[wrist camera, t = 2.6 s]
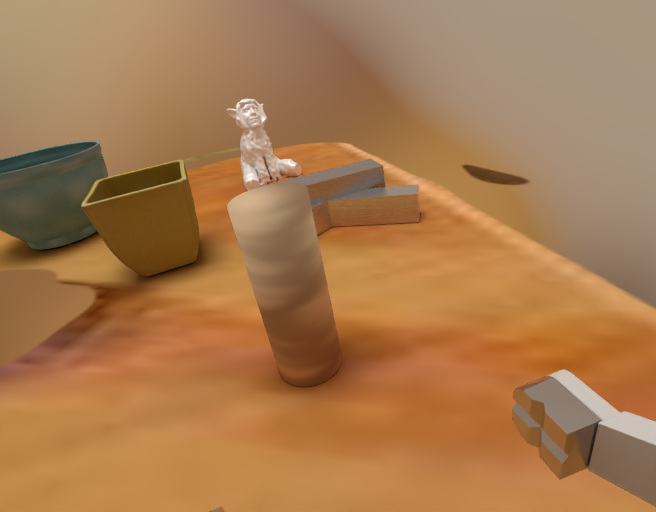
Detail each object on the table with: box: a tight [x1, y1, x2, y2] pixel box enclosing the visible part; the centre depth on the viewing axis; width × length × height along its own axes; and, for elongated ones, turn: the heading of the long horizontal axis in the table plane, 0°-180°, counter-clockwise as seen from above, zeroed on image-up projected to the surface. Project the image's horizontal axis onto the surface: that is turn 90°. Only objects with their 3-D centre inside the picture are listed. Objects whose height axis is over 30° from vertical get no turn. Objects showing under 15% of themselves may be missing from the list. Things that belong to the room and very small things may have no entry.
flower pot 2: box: [81, 160, 199, 276], centre depth 39 cm, size 9×9×9 cm
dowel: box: [227, 183, 342, 387], centre depth 22 cm, size 4×4×11 cm
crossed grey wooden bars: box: [257, 159, 420, 236], centre depth 40 cm, size 18×8×5 cm, turn 106°
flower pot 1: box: [0, 141, 108, 250], centre depth 51 cm, size 16×16×11 cm
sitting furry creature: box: [226, 99, 301, 191], centre depth 58 cm, size 10×9×12 cm
